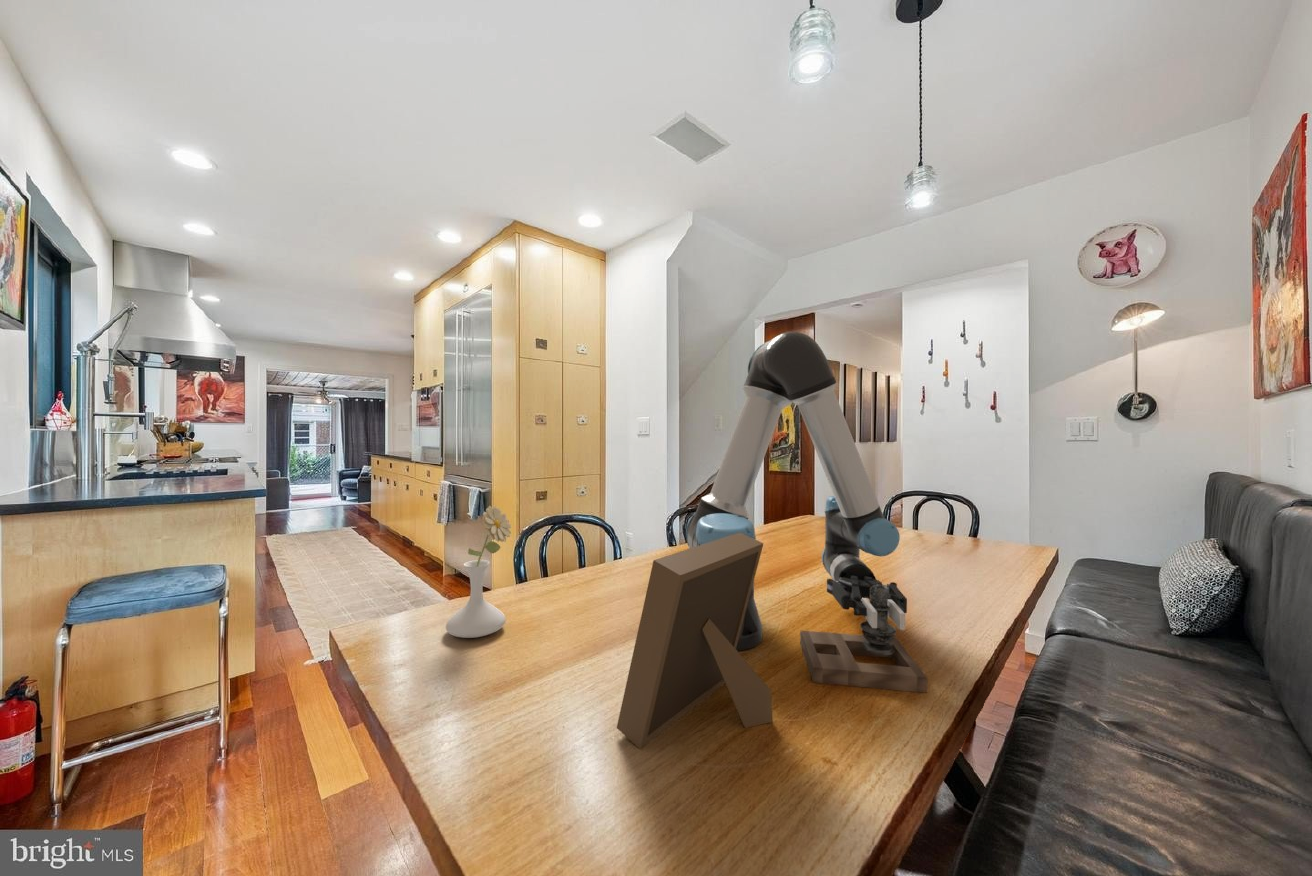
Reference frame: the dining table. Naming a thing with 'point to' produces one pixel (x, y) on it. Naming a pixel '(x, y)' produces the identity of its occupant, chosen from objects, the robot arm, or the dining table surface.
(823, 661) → the socket board
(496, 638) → the dining table surface
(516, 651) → the dining table surface
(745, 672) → the photo frame
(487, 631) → the flower in vase
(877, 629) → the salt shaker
